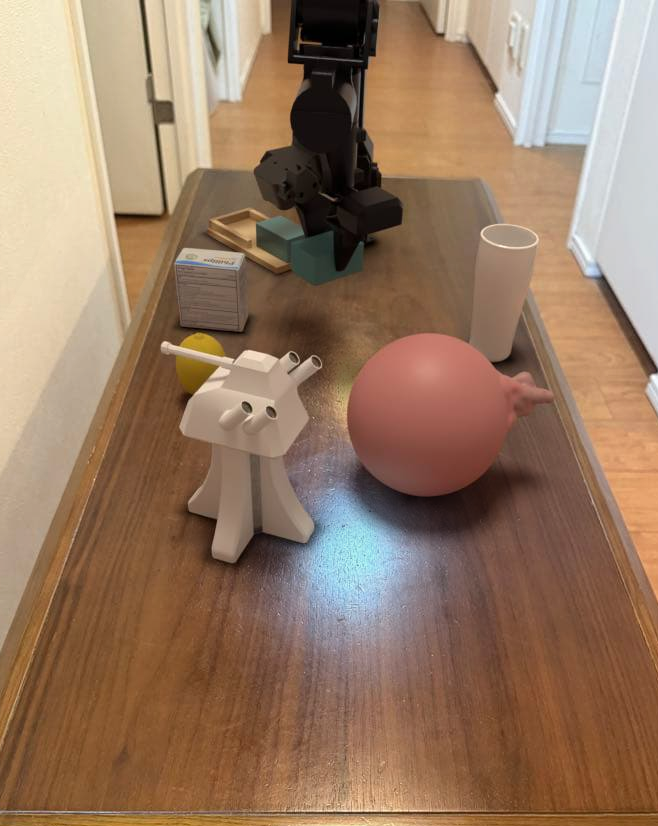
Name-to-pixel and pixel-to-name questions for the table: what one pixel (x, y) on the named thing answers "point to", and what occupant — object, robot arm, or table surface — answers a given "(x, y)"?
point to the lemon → (197, 362)
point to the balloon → (434, 413)
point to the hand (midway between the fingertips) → (327, 262)
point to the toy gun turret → (248, 446)
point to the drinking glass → (500, 287)
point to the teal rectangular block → (321, 259)
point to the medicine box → (212, 289)
